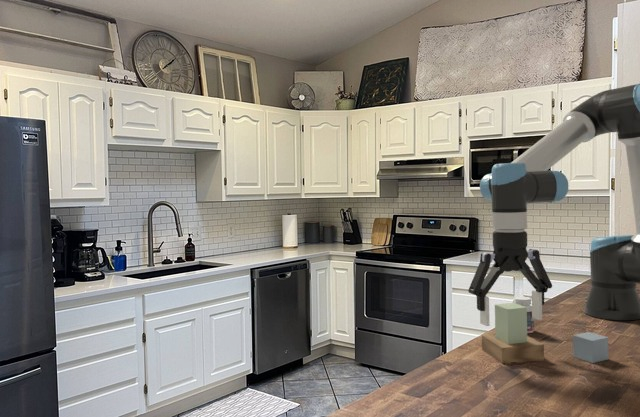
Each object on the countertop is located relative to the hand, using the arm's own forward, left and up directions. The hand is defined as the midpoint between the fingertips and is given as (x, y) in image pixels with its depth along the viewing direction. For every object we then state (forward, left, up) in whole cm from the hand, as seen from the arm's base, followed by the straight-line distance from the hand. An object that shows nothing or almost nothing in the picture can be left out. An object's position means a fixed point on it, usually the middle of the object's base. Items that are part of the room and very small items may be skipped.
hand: (511, 321), depth 122 cm
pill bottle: (-14, -16, -8) cm, 23 cm away
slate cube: (-15, +8, -8) cm, 18 cm away
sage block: (0, 0, -4) cm, 4 cm away
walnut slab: (0, 0, -8) cm, 8 cm away
